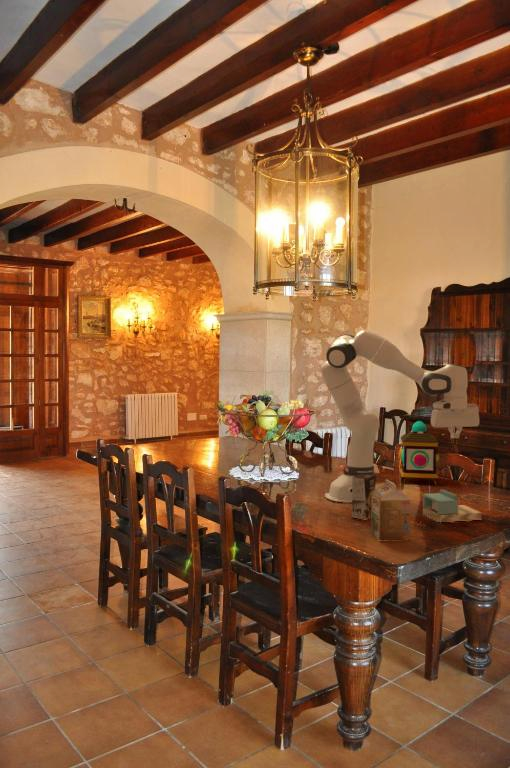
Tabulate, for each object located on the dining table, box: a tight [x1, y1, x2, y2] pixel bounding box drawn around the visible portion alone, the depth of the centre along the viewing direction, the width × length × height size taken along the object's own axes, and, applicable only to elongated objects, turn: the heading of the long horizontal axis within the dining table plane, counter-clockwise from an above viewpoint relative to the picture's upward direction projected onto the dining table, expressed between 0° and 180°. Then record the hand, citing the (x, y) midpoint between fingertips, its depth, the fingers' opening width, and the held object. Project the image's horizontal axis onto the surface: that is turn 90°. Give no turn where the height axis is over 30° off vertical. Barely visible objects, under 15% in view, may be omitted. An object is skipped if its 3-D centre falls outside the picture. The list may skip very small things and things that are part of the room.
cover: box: [422, 489, 459, 514], centre depth 234 cm, size 8×12×6 cm, turn 13°
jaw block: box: [432, 500, 437, 513], centre depth 234 cm, size 4×4×6 cm
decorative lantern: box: [397, 420, 440, 486], centre depth 301 cm, size 20×20×30 cm
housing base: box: [422, 504, 483, 524], centre depth 235 cm, size 18×12×3 cm, turn 103°
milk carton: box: [370, 479, 411, 540], centre depth 211 cm, size 11×11×19 cm
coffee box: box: [351, 474, 377, 521], centre depth 235 cm, size 9×6×16 cm
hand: (454, 437), depth 247 cm, fingers closed
